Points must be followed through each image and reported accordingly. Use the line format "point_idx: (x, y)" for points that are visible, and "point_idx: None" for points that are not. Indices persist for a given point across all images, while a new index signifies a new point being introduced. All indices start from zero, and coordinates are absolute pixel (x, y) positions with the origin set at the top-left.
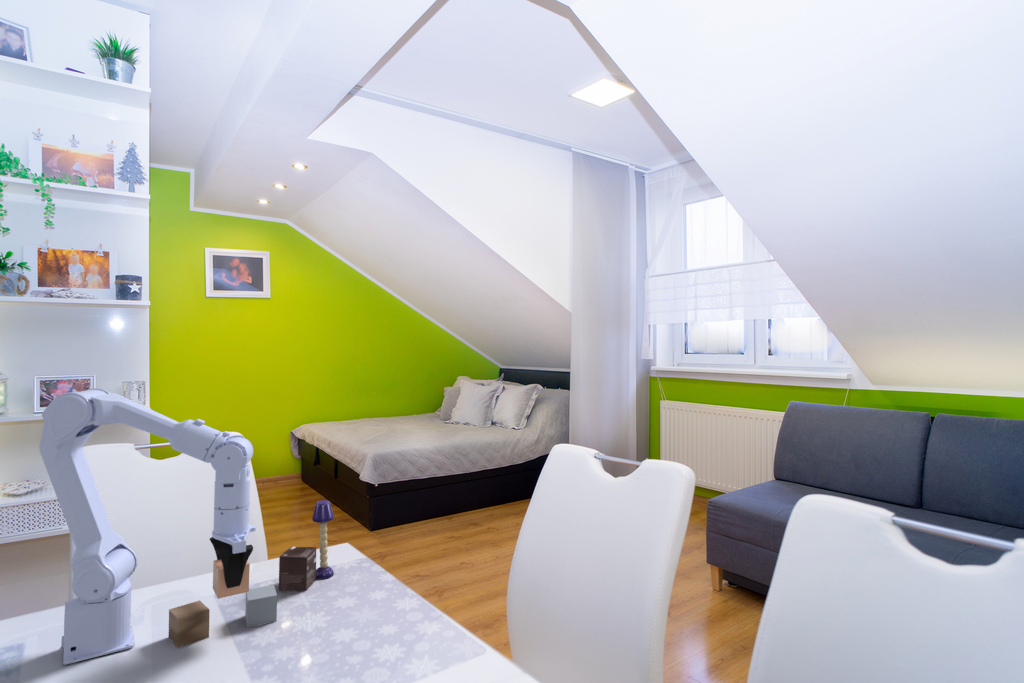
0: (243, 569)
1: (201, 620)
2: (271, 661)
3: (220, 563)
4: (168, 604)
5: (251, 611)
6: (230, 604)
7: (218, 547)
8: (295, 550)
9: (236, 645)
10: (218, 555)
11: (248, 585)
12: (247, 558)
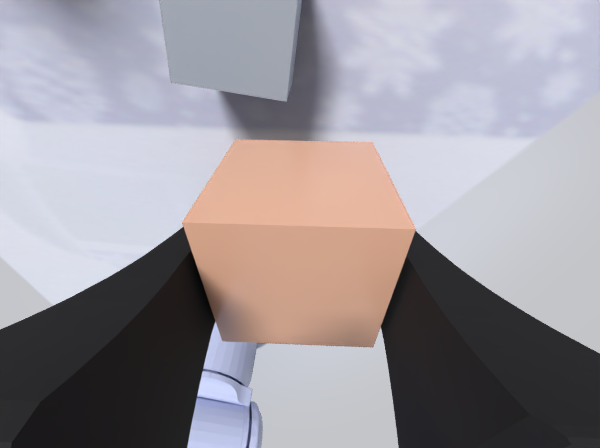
0: (446, 260)
1: None
2: (545, 69)
3: (284, 331)
4: (80, 217)
5: (291, 77)
6: (106, 91)
7: (187, 410)
8: None
9: (378, 132)
10: (203, 349)
11: (380, 158)
12: (538, 326)
